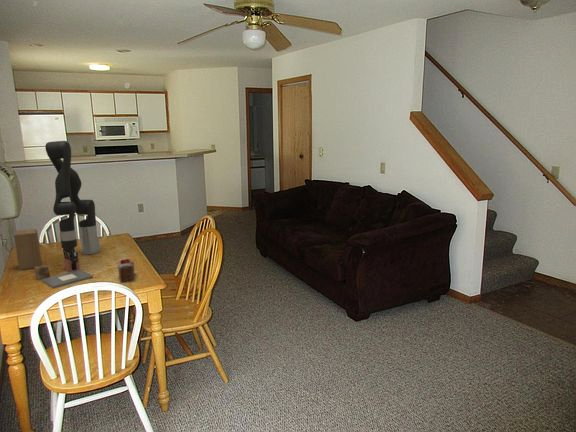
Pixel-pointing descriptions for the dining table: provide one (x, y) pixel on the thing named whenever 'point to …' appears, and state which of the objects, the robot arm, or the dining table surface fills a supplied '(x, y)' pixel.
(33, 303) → the dining table surface
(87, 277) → the grey flat rectangular panel
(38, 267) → the walnut block
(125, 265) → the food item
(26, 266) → the wooden block
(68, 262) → the red block
